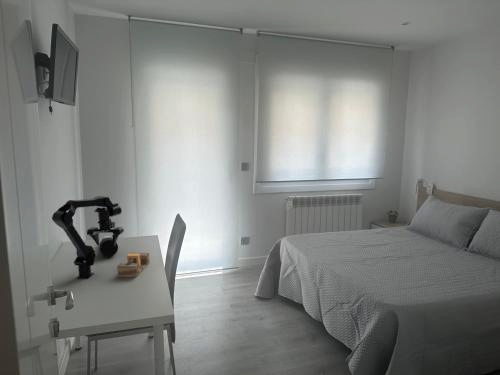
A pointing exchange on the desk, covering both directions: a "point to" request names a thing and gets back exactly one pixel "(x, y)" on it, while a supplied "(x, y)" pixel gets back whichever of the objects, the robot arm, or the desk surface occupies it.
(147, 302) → the desk surface
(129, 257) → the tan u-shaped bracket
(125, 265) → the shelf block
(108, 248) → the black cylinder
